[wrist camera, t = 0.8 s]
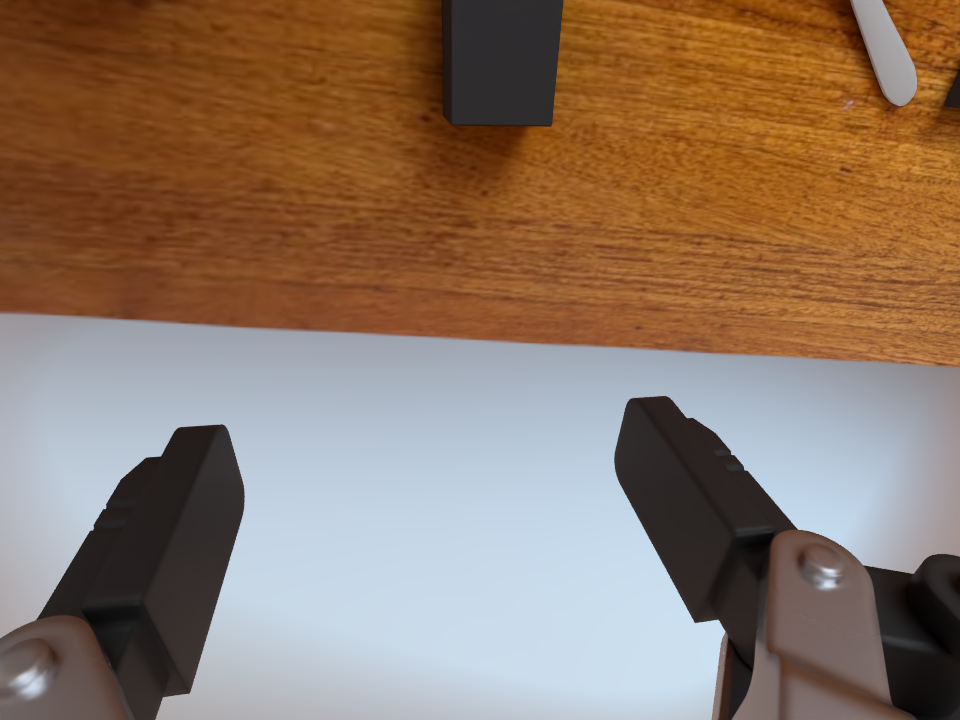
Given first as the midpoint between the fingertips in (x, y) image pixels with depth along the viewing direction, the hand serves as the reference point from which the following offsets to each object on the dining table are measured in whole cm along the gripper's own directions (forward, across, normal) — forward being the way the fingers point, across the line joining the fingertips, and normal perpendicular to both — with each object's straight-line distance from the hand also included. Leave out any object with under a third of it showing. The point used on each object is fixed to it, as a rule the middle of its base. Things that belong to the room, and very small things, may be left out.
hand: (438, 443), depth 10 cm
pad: (+22, -5, -8) cm, 24 cm away
